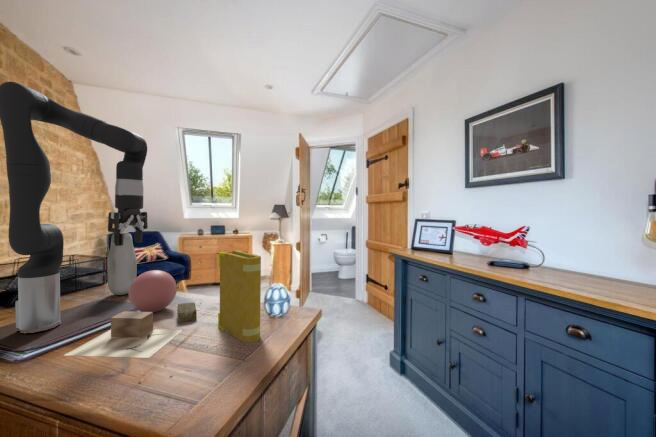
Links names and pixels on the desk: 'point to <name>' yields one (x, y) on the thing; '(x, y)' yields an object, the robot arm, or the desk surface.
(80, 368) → the desk surface
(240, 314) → the book
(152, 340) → the birch board
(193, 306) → the stone block
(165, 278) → the pink egg
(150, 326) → the block
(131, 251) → the grey vase
